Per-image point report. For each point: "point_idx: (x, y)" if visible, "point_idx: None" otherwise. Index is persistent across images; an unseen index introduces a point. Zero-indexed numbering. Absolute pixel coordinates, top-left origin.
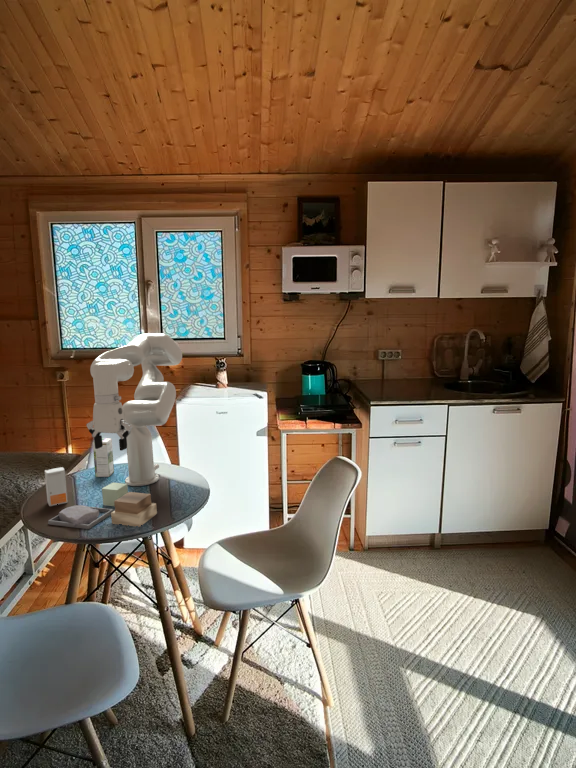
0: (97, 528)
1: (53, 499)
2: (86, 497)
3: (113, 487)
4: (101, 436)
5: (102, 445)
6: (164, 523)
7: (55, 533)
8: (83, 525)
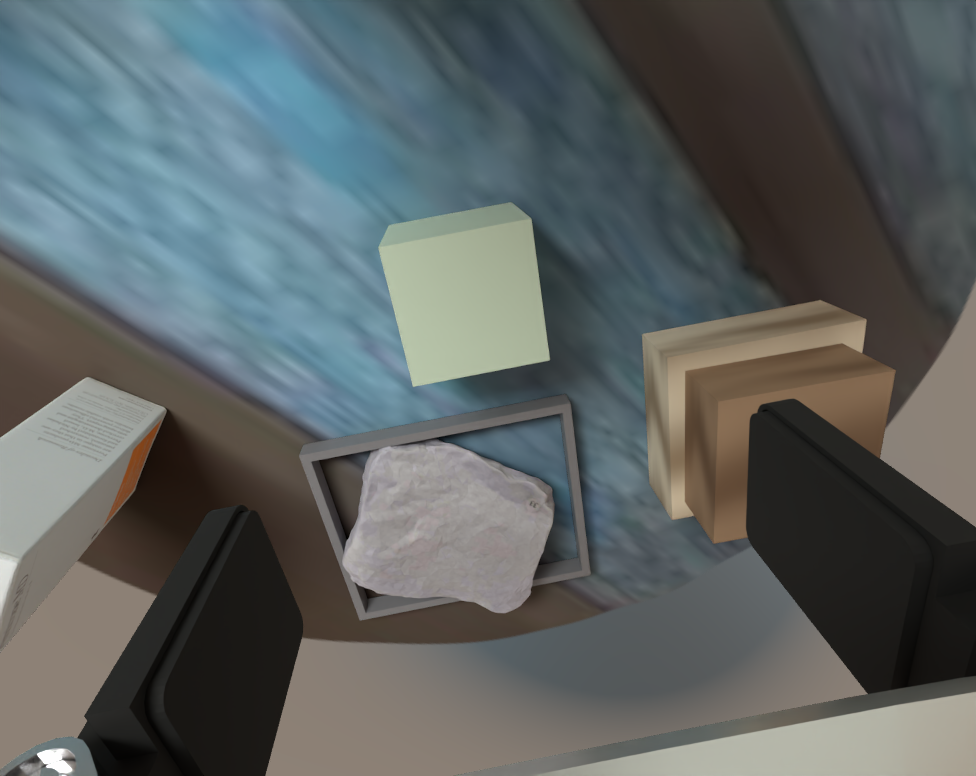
0: (618, 541)
1: (124, 496)
2: (187, 293)
3: (481, 332)
4: (168, 693)
5: (249, 517)
6: (913, 377)
7: (477, 636)
8: (562, 578)
